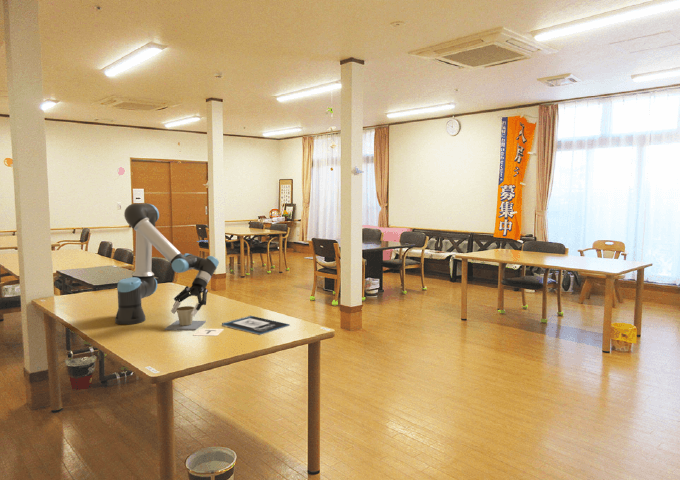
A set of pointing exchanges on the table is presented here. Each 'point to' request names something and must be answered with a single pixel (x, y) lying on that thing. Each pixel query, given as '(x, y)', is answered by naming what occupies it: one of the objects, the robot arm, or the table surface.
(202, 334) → the letter tile
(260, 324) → the sketchbook
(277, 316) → the table surface
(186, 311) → the flower pot
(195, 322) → the rubber mat
